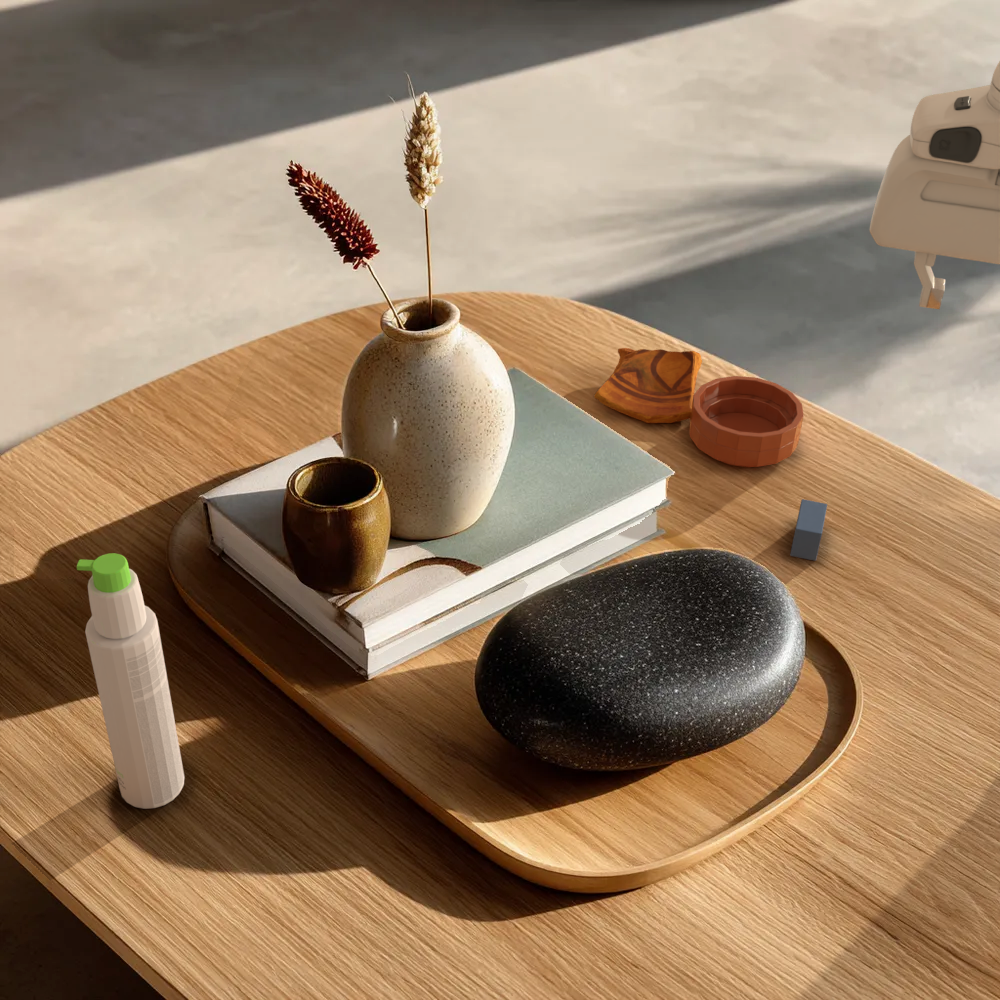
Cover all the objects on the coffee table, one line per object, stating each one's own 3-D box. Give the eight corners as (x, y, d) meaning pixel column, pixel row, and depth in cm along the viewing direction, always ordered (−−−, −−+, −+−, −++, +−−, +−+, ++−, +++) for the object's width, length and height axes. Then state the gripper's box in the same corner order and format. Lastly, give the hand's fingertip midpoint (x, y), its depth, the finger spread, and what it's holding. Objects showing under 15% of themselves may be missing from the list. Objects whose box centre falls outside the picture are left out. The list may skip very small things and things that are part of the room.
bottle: (144, 752, 94) (100, 533, 82) (197, 772, 93) (160, 552, 81) (107, 797, 91) (56, 575, 79) (161, 817, 90) (118, 595, 78)
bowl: (739, 399, 133) (744, 365, 131) (818, 446, 127) (825, 411, 124) (666, 434, 128) (670, 399, 125) (745, 484, 122) (751, 449, 119)
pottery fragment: (703, 348, 135) (699, 385, 126) (699, 390, 137) (695, 429, 128) (604, 339, 136) (593, 375, 127) (601, 381, 138) (591, 419, 129)
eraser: (796, 525, 117) (801, 498, 115) (821, 530, 117) (827, 503, 115) (789, 556, 114) (795, 528, 112) (815, 561, 113) (821, 534, 111)
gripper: (1211, 136, 88) (1144, 319, 97) (897, 95, 93) (859, 273, 101) (1223, 173, 84) (1151, 362, 92) (891, 128, 88) (851, 312, 96)
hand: (996, 315), depth 97 cm, fingers open, 8 cm apart
